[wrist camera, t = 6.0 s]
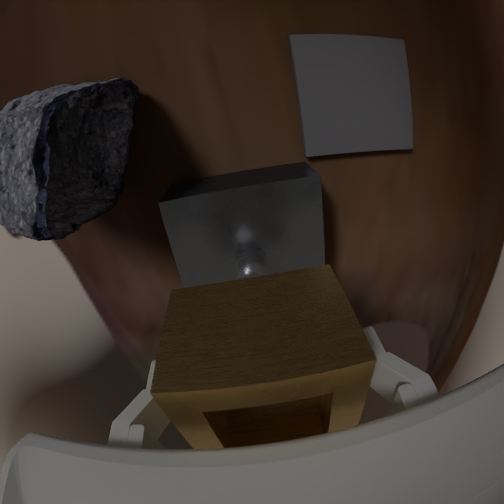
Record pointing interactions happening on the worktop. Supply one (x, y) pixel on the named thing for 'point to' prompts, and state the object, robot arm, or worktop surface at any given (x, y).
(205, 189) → the post block
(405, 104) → the mat
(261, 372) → the ring
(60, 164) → the stone
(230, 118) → the worktop surface
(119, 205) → the worktop surface
